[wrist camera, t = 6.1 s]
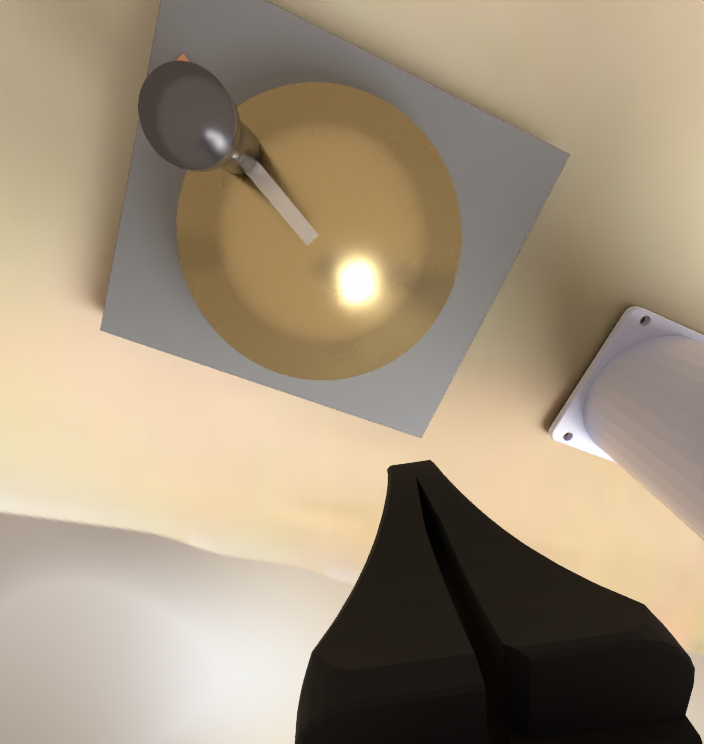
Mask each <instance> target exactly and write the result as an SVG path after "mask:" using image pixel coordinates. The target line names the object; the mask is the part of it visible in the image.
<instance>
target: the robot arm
mask: <svg viewBox="0 0 704 744" xmlns="http://www.w3.org/2000/svg"><path fill="white" fill-rule="evenodd" d="M644 316H645V320H644V321H643V322H642V323H641V324H640V321H641V319H642V318H643V317H644ZM568 432H569V434H568V435H567V436H566V437H563V436H564V435H565V434H566V433H568ZM548 434H549V436H550V437H551V438H552V439H553V440H555V441H557V442H560V443H563V444H565V445H568V446H571V447H574V448H577V449H579V450H582V451H585V452H588V453H591V454H593V455H596V456H599V457H602V458H605V459H607V460H610V461H613V462H616V463H617V464H619V465H620V466H621V467H622V468H623V469H624V470H625V471H626V472H627V473H629V474H630V475H631V476H632V477H633V478H634V479H635V480H636V481H638V482H639V483H640V484H641V485H642V486H643V487H644V488H645V489H647V490H648V491H649V492H650V493H651V494H652V495H653V496H654V497H656V498H657V499H658V500H659V501H660V502H661V503H662V504H663V505H665V506H666V507H667V508H668V509H669V510H670V511H671V512H672V513H673V514H675V515H676V516H677V517H678V518H679V519H680V520H681V521H682V522H684V523H685V524H686V525H687V526H688V527H689V528H690V529H691V530H693V531H694V532H695V533H696V534H697V535H698V536H699V537H700V538H702V539H703V540H704V335H703V334H701V333H699V332H696V331H694V330H692V329H690V328H687V327H685V326H683V325H681V324H678V323H676V322H674V321H672V320H669V319H667V318H665V317H663V316H660V315H658V314H656V313H654V312H651V311H649V310H647V309H645V308H642V307H639V306H631V307H629V308H628V309H627V310H626V311H625V312H624V313H623V315H622V316H621V318H620V320H619V321H618V323H617V324H616V326H615V327H614V329H613V330H612V332H611V333H610V335H609V337H608V338H607V340H606V341H605V343H604V344H603V346H602V347H601V349H600V351H599V352H598V354H597V355H596V357H595V358H594V360H593V361H592V363H591V364H590V366H589V368H588V369H587V371H586V372H585V374H584V375H583V377H582V378H581V380H580V382H579V383H578V385H577V386H576V388H575V389H574V391H573V392H572V394H571V395H570V397H569V399H568V400H567V402H566V403H565V405H564V406H563V408H562V409H561V411H560V413H559V414H558V416H557V417H556V419H555V420H554V422H553V423H552V425H551V426H550V428H549V431H548ZM387 472H388V487H387V495H386V500H385V505H384V510H383V514H382V518H381V521H380V525H379V528H378V532H377V535H376V538H375V541H374V544H373V546H372V549H371V551H370V554H369V556H368V559H367V561H366V563H365V566H364V568H363V570H362V572H361V574H360V576H359V578H358V580H357V582H356V584H355V586H354V588H353V590H352V592H351V594H350V595H349V597H348V599H347V600H346V602H345V604H344V605H343V607H342V609H341V610H340V612H339V614H338V616H337V617H336V619H335V620H334V622H333V623H332V625H331V626H330V627H329V629H328V630H327V632H326V633H325V634H324V636H323V637H322V639H321V640H320V641H319V643H318V644H317V646H316V647H315V649H314V650H313V651H312V654H311V657H310V660H309V663H308V667H307V670H306V674H305V677H304V681H303V685H302V689H301V694H300V700H299V706H298V711H297V721H296V735H295V744H702V740H701V737H700V735H699V734H698V733H697V731H696V730H695V728H694V727H693V725H692V724H691V722H690V721H689V720H688V718H687V717H686V715H685V714H686V710H687V707H688V703H689V700H690V696H691V692H692V689H693V684H694V672H695V668H694V666H693V663H692V661H691V658H690V657H689V656H688V654H687V653H686V652H685V650H684V649H683V648H682V647H681V645H680V644H679V643H678V642H677V640H676V639H675V638H674V637H673V635H672V634H671V633H670V632H669V631H668V630H667V628H666V627H665V626H664V625H663V624H662V623H661V622H660V621H659V620H658V619H657V618H656V617H655V616H654V615H653V614H652V612H651V611H650V610H649V609H648V608H647V607H646V606H645V605H644V604H642V603H640V602H637V601H635V600H633V599H630V598H628V597H626V596H623V595H621V594H619V593H616V592H614V591H612V590H609V589H607V588H605V587H602V586H600V585H598V584H596V583H593V582H591V581H589V580H587V579H585V578H583V577H581V576H579V575H577V574H575V573H573V572H571V571H569V570H568V569H566V568H564V567H562V566H560V565H558V564H557V563H555V562H553V561H552V560H550V559H548V558H546V557H545V556H543V555H541V554H540V553H538V552H536V551H535V550H533V549H531V548H530V547H528V546H527V545H525V544H524V543H522V542H521V541H519V540H518V539H516V538H515V537H514V536H512V535H511V534H509V533H508V532H507V531H505V530H504V529H503V528H501V527H500V526H499V525H497V524H496V523H495V522H494V521H492V520H491V519H490V518H489V517H488V516H486V515H485V514H484V513H483V512H482V511H480V510H479V509H478V508H477V507H476V506H475V505H474V504H473V503H472V502H471V501H469V500H468V499H467V498H466V497H465V496H464V495H463V494H462V493H461V492H460V491H459V490H458V489H457V488H456V487H455V486H454V485H453V484H452V483H451V482H450V481H449V480H448V479H447V477H446V476H445V475H444V474H443V473H442V472H441V471H440V470H439V468H438V467H437V466H436V465H435V464H434V463H433V462H432V461H431V460H427V461H420V462H413V463H406V464H399V465H392V466H390V467H389V468H388V469H387Z"/></svg>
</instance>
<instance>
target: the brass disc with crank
mask: <svg viewBox="0 0 704 744" xmlns="http://www.w3.org/2000/svg"><path fill="white" fill-rule="evenodd" d="M138 108H139V118H140V123H141V127H142V129H143V132H144V134H145V136H146V138H147V140H148V142H149V143H150V145H151V146H152V147H153V149H154V150H155V151H156V152H157V153H158V154H159V155H160V156H161V157H162V158H163V159H165V160H166V161H167V162H169V163H171V164H172V165H175V166H177V167H179V168H183V169H186V170H187V173H186V175H185V177H184V181H183V185H182V188H181V192H180V196H179V202H178V210H177V217H176V231H177V245H178V253H179V259H180V263H181V267H182V271H183V274H184V277H185V280H186V283H187V285H188V288H189V290H190V293H191V295H192V297H193V299H194V300H195V302H196V304H197V306H198V308H199V310H200V311H201V313H202V314H203V315H204V317H205V318H206V320H207V321H208V323H209V324H210V325H211V326H212V328H213V329H214V330H215V331H216V332H217V333H218V334H219V335H220V336H221V338H222V339H223V340H225V341H226V342H227V343H228V344H229V345H230V346H231V347H233V348H234V349H235V350H236V351H237V352H239V353H240V354H242V355H243V356H245V357H246V358H248V359H249V360H251V361H253V362H255V363H256V364H258V365H260V366H262V367H264V368H266V369H269V370H271V371H274V372H277V373H279V374H282V375H286V376H290V377H294V378H299V379H307V380H338V379H347V378H351V377H355V376H359V375H363V374H366V373H368V372H371V371H374V370H376V369H379V368H381V367H383V366H385V365H386V364H388V363H390V362H392V361H394V360H395V359H397V358H398V357H400V356H401V355H402V354H404V353H405V352H407V351H408V350H409V349H410V348H411V347H412V346H414V345H415V344H416V343H417V342H418V341H419V340H420V339H421V338H422V337H423V336H424V334H425V333H426V332H427V331H428V330H429V329H430V328H431V326H432V325H433V323H434V322H435V320H436V319H437V318H438V316H439V315H440V313H441V311H442V309H443V307H444V306H445V304H446V302H447V300H448V298H449V295H450V293H451V290H452V287H453V285H454V282H455V279H456V275H457V271H458V267H459V262H460V254H461V245H462V224H461V216H460V209H459V203H458V199H457V195H456V192H455V188H454V185H453V182H452V180H451V177H450V175H449V172H448V170H447V167H446V165H445V164H444V162H443V160H442V158H441V157H440V155H439V153H438V151H437V149H436V148H435V147H434V145H433V144H432V143H431V141H430V140H429V139H428V137H427V136H426V135H425V133H424V132H423V131H422V130H421V129H420V128H419V127H418V126H417V125H416V124H415V123H414V122H413V121H412V120H411V119H410V118H409V117H408V116H406V115H405V114H404V113H402V112H401V111H400V110H398V109H397V108H396V107H394V106H393V105H392V104H390V103H388V102H386V101H384V100H382V99H381V98H379V97H377V96H375V95H373V94H371V93H368V92H365V91H363V90H360V89H357V88H354V87H351V86H346V85H341V84H336V83H327V82H305V83H296V84H288V85H285V86H281V87H278V88H274V89H270V90H268V91H265V92H263V93H261V94H259V95H257V96H254V97H252V98H250V99H248V100H247V101H245V102H244V103H242V104H241V105H239V106H238V107H236V104H235V102H234V100H233V98H232V96H231V95H230V93H229V92H228V91H227V89H226V88H225V87H224V86H223V85H222V84H221V82H220V81H219V80H218V79H217V78H216V77H215V76H214V75H213V74H212V73H211V72H209V71H208V70H206V69H205V68H203V67H202V66H200V65H198V64H195V63H192V62H188V61H171V62H167V63H164V64H162V65H160V66H159V67H157V68H156V69H154V70H153V71H152V72H151V73H150V74H149V76H148V77H147V78H146V80H145V82H144V84H143V86H142V89H141V91H140V96H139V104H138Z"/></svg>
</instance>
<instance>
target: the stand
mask: <svg viewBox="0 0 704 744" xmlns="http://www.w3.org/2000/svg"><path fill="white" fill-rule="evenodd" d="M171 61H188V62H192V63H195V64H198V65H200V66H202V67H203V68H205V69H206V70H208V71H209V72H211V73H212V74H213V75H214V76H215V77H216V78H217V79H218V80H219V81H220V82H221V84H222V85H223V86H224V87H225V88H226V89H227V91H228V92H229V93H230V95H231V96H232V98H233V100H234V102H235V104H236V107H238V106H239V105H241V104H242V103H244V102H245V101H247V100H248V99H250V98H252V97H254V96H257V95H259V94H261V93H263V92H265V91H268V90H270V89H274V88H278V87H281V86H285V85H288V84H296V83H305V82H327V83H336V84H341V85H346V86H351V87H354V88H357V89H360V90H363V91H365V92H368V93H371V94H373V95H375V96H377V97H379V98H381V99H382V100H384V101H386V102H388V103H390V104H392V105H393V106H394V107H396V108H397V109H398V110H400V111H401V112H402V113H404V114H405V115H406V116H408V117H409V118H410V119H411V120H412V121H413V122H414V123H415V124H416V125H417V126H418V127H419V128H420V129H421V130H422V131H423V132H424V133H425V135H426V136H427V137H428V139H429V140H430V141H431V143H432V144H433V145H434V147H435V148H436V149H437V151H438V153H439V155H440V157H441V158H442V160H443V162H444V164H445V165H446V167H447V170H448V172H449V175H450V177H451V180H452V182H453V185H454V188H455V192H456V195H457V199H458V203H459V209H460V216H461V224H462V245H461V254H460V262H459V267H458V271H457V275H456V279H455V282H454V285H453V287H452V290H451V293H450V295H449V298H448V300H447V302H446V304H445V306H444V307H443V309H442V311H441V313H440V315H439V316H438V318H437V319H436V320H435V322H434V323H433V325H432V326H431V328H430V329H429V330H428V331H427V332H426V333H425V334H424V336H423V337H422V338H421V339H420V340H419V341H418V342H417V343H416V344H415V345H414V346H412V347H411V348H410V349H409V350H408V351H407V352H405V353H404V354H402V355H401V356H400V357H398V358H397V359H395V360H394V361H392V362H390V363H388V364H386V365H385V366H383V367H381V368H379V369H376V370H374V371H371V372H368V373H366V374H363V375H359V376H355V377H351V378H347V379H338V380H307V379H299V378H294V377H290V376H286V375H282V374H279V373H277V372H274V371H271V370H269V369H266V368H264V367H262V366H260V365H258V364H256V363H255V362H253V361H251V360H249V359H248V358H246V357H245V356H243V355H242V354H240V353H239V352H237V351H236V350H235V349H234V348H233V347H231V346H230V345H229V344H228V343H227V342H226V341H225V340H223V339H222V338H221V336H220V335H219V334H218V333H217V332H216V331H215V330H214V329H213V328H212V326H211V325H210V324H209V323H208V321H207V320H206V318H205V317H204V315H203V314H202V313H201V311H200V310H199V308H198V306H197V304H196V302H195V300H194V299H193V297H192V295H191V293H190V290H189V288H188V285H187V283H186V280H185V277H184V274H183V271H182V267H181V263H180V259H179V253H178V245H177V231H176V217H177V210H178V202H179V196H180V192H181V188H182V185H183V181H184V177H185V175H186V173H187V170H186V169H183V168H179V167H177V166H175V165H172V164H171V163H169V162H167V161H166V160H165V159H163V158H162V157H161V156H160V155H159V154H158V153H157V152H156V151H155V150H154V149H153V147H152V146H151V145H150V143H149V142H148V140H147V138H146V136H145V134H144V132H143V129H142V127H141V123H140V118H139V122H138V127H137V133H136V138H135V144H134V149H133V154H132V160H131V165H130V171H129V176H128V182H127V187H126V192H125V198H124V203H123V209H122V214H121V220H120V225H119V231H118V236H117V241H116V247H115V252H114V258H113V263H112V269H111V274H110V279H109V285H108V290H107V296H106V301H105V307H104V312H103V317H102V323H101V328H100V330H101V331H104V332H107V333H110V334H113V335H116V336H119V337H122V338H125V339H128V340H130V341H133V342H136V343H139V344H142V345H145V346H148V347H151V348H154V349H157V350H160V351H163V352H166V353H169V354H172V355H175V356H178V357H181V358H184V359H187V360H190V361H193V362H196V363H199V364H202V365H205V366H208V367H211V368H214V369H217V370H220V371H223V372H226V373H229V374H232V375H235V376H238V377H241V378H244V379H246V380H249V381H252V382H255V383H258V384H261V385H264V386H267V387H270V388H273V389H276V390H279V391H282V392H285V393H288V394H291V395H294V396H297V397H300V398H303V399H306V400H309V401H312V402H315V403H318V404H321V405H324V406H327V407H330V408H333V409H336V410H339V411H342V412H345V413H348V414H351V415H354V416H357V417H360V418H362V419H365V420H368V421H371V422H374V423H377V424H380V425H383V426H386V427H389V428H392V429H395V430H398V431H401V432H404V433H407V434H410V435H413V436H416V437H419V438H422V436H423V434H424V432H425V430H426V428H427V427H428V425H429V423H430V421H431V419H432V417H433V415H434V413H435V411H436V409H437V407H438V406H439V404H440V402H441V400H442V398H443V396H444V394H445V392H446V390H447V388H448V386H449V385H450V383H451V381H452V379H453V377H454V375H455V373H456V371H457V369H458V367H459V365H460V364H461V362H462V360H463V358H464V356H465V354H466V352H467V350H468V348H469V346H470V344H471V343H472V341H473V339H474V337H475V335H476V333H477V331H478V329H479V327H480V325H481V323H482V322H483V320H484V318H485V316H486V314H487V312H488V310H489V308H490V306H491V304H492V303H493V301H494V299H495V297H496V295H497V293H498V291H499V289H500V287H501V285H502V283H503V282H504V280H505V278H506V276H507V274H508V272H509V270H510V268H511V266H512V264H513V262H514V261H515V259H516V257H517V255H518V253H519V251H520V249H521V247H522V245H523V243H524V241H525V240H526V238H527V236H528V234H529V232H530V230H531V228H532V226H533V224H534V222H535V220H536V219H537V217H538V215H539V213H540V211H541V209H542V207H543V205H544V203H545V201H546V199H547V198H548V196H549V194H550V192H551V190H552V188H553V186H554V184H555V182H556V180H557V178H558V177H559V175H560V173H561V171H562V169H563V167H564V165H565V163H566V161H567V159H568V157H569V156H570V154H568V153H566V152H564V151H562V150H560V149H558V148H556V147H554V146H552V145H550V144H548V143H546V142H544V141H542V140H540V139H538V138H536V137H534V136H532V135H530V134H528V133H526V132H524V131H522V130H520V129H518V128H517V127H515V126H513V125H511V124H509V123H507V122H505V121H503V120H501V119H499V118H497V117H495V116H493V115H491V114H489V113H487V112H485V111H483V110H481V109H479V108H477V107H475V106H473V105H471V104H469V103H467V102H465V101H463V100H461V99H459V98H457V97H455V96H453V95H451V94H449V93H447V92H446V91H444V90H442V89H440V88H438V87H436V86H434V85H432V84H430V83H428V82H426V81H424V80H422V79H420V78H418V77H416V76H414V75H412V74H410V73H408V72H406V71H404V70H402V69H400V68H398V67H396V66H394V65H392V64H390V63H388V62H386V61H384V60H382V59H380V58H378V57H376V56H374V55H373V54H371V53H369V52H367V51H365V50H363V49H361V48H359V47H357V46H355V45H353V44H351V43H349V42H347V41H345V40H343V39H341V38H339V37H337V36H335V35H333V34H331V33H329V32H327V31H325V30H323V29H321V28H319V27H317V26H315V25H313V24H311V23H309V22H307V21H305V20H303V19H302V18H300V17H298V16H296V15H294V14H292V13H290V12H288V11H286V10H284V9H282V8H280V7H278V6H276V5H274V4H272V3H270V2H268V1H266V0H161V2H160V8H159V13H158V19H157V24H156V29H155V35H154V40H153V46H152V51H151V57H150V62H149V68H148V73H147V77H148V76H149V74H150V73H151V72H152V71H153V70H154V69H156V68H157V67H159V66H160V65H162V64H164V63H167V62H171Z"/></svg>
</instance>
